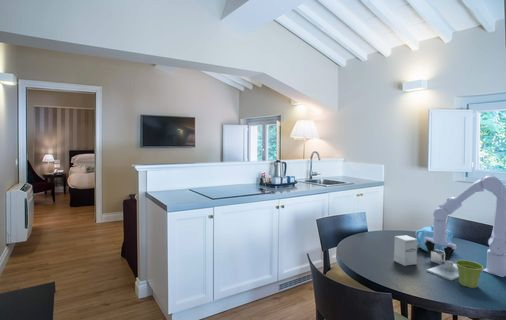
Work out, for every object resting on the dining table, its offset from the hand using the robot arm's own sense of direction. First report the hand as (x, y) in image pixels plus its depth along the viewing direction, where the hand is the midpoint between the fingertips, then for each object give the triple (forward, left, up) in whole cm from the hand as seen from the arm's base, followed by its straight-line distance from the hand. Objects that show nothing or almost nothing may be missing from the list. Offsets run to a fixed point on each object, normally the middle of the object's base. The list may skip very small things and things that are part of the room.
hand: (439, 259), depth 152 cm
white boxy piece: (0, 0, -1) cm, 1 cm away
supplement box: (+15, -8, -2) cm, 17 cm away
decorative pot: (-14, -11, -2) cm, 18 cm away
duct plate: (+7, +9, -1) cm, 11 cm away
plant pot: (+14, +20, -2) cm, 25 cm away
